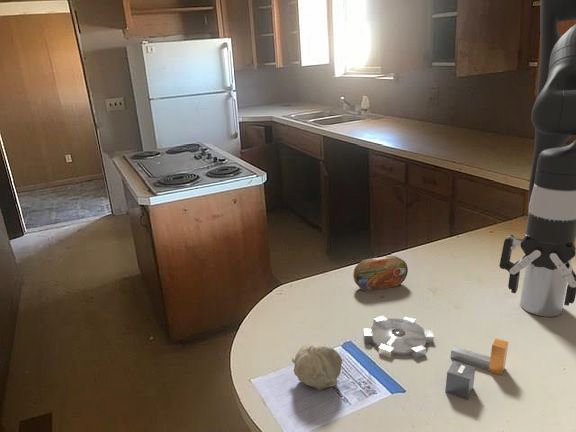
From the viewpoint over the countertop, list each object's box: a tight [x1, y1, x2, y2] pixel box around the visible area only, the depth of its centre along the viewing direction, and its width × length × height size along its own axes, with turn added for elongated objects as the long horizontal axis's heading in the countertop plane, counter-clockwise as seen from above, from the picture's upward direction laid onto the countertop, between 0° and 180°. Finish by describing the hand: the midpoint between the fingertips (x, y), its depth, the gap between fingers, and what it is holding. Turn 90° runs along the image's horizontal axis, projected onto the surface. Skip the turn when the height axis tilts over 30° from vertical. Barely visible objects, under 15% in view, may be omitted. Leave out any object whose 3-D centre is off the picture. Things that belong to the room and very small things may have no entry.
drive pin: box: [450, 337, 509, 376], centre depth 97 cm, size 3×10×6 cm, turn 56°
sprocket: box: [363, 315, 435, 359], centre depth 107 cm, size 15×14×2 cm
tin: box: [352, 255, 409, 292], centre depth 131 cm, size 15×3×8 cm, turn 105°
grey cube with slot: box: [444, 360, 476, 401], centre depth 90 cm, size 4×4×5 cm
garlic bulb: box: [291, 341, 343, 391], centre depth 93 cm, size 9×8×10 cm
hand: (539, 297), depth 87 cm, fingers open, 8 cm apart
